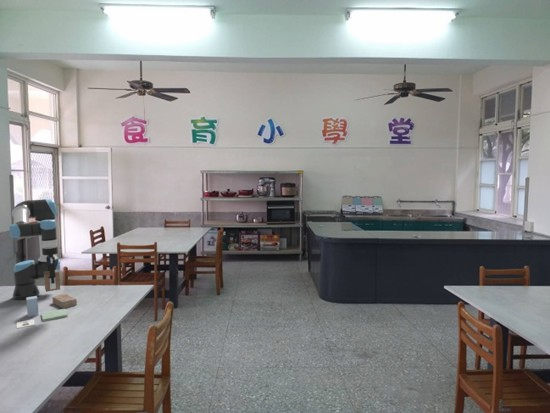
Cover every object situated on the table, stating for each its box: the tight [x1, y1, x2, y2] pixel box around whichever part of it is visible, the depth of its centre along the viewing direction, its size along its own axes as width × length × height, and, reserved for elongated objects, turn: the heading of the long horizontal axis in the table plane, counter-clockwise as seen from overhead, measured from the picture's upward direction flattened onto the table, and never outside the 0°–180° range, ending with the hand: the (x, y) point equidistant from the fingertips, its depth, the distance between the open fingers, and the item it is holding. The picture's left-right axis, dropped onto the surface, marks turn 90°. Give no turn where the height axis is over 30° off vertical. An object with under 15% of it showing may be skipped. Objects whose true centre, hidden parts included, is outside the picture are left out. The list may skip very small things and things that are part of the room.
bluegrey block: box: [25, 296, 39, 318], centre depth 224 cm, size 5×5×10 cm
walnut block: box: [43, 270, 61, 292], centre depth 220 cm, size 7×7×10 cm
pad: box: [40, 308, 68, 322], centre depth 221 cm, size 12×12×1 cm
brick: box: [52, 293, 78, 309], centre depth 242 cm, size 17×8×5 cm, turn 51°
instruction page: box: [16, 318, 35, 329], centre depth 210 cm, size 10×8×1 cm
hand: (52, 287), depth 220 cm, fingers closed on walnut block, 7 cm apart
